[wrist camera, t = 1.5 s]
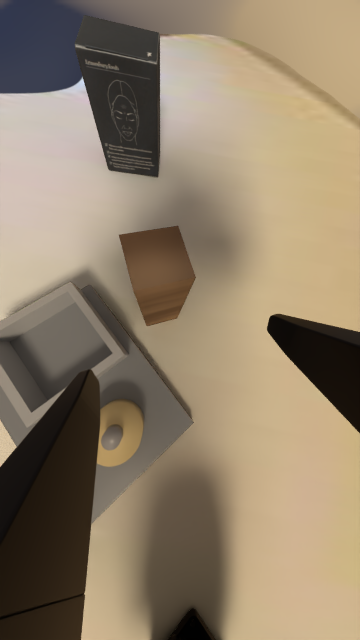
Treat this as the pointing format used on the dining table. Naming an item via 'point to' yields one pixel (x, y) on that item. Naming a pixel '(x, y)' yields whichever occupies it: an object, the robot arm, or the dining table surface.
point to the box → (123, 92)
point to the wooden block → (158, 272)
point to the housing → (111, 371)
